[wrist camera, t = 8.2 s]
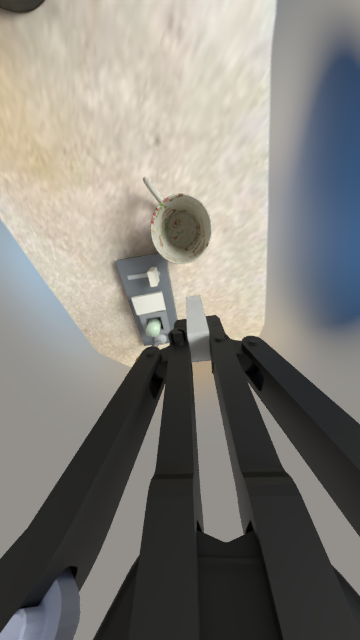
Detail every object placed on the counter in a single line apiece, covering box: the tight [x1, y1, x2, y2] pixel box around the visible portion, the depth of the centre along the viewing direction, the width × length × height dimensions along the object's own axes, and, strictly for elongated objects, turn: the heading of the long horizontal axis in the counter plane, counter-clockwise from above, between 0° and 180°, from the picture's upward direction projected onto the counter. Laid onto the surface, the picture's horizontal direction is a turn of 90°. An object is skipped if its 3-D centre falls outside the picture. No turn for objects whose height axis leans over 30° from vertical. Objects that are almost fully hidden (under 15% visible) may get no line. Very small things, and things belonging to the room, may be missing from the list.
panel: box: [115, 253, 177, 346], centre depth 36 cm, size 22×10×4 cm, turn 9°
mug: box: [143, 177, 212, 264], centre depth 24 cm, size 8×13×10 cm, turn 42°
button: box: [146, 319, 161, 337], centre depth 35 cm, size 3×3×3 cm
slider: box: [147, 267, 160, 287], centre depth 30 cm, size 3×1×4 cm, turn 9°
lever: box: [136, 340, 161, 361], centre depth 36 cm, size 2×2×8 cm
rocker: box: [131, 291, 166, 315], centre depth 33 cm, size 4×6×1 cm, turn 99°
